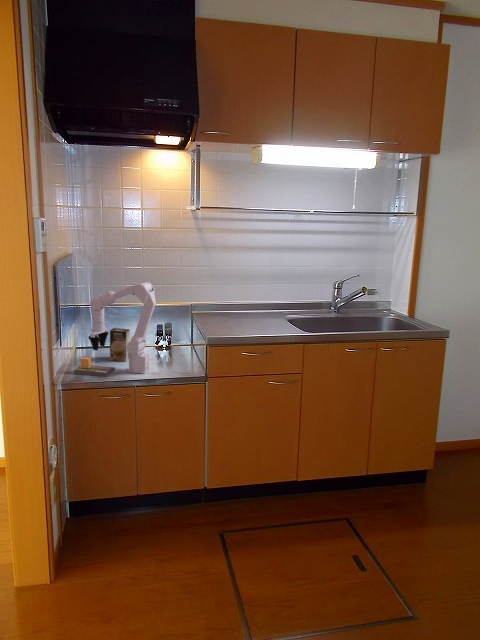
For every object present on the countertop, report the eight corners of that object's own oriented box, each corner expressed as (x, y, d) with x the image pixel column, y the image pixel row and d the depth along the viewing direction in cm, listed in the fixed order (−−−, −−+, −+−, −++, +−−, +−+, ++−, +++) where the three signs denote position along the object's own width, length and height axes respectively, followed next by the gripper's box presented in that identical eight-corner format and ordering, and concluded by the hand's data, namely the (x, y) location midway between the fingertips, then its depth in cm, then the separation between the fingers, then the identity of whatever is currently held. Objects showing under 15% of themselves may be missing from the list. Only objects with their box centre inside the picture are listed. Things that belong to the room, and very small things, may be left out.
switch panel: (113, 371, 246) (113, 367, 245) (106, 376, 238) (106, 372, 237) (82, 368, 248) (82, 364, 248) (74, 373, 240) (74, 369, 240)
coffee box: (109, 360, 263) (108, 330, 259) (113, 356, 269) (113, 327, 266) (126, 361, 262) (126, 331, 259) (130, 358, 268) (130, 328, 265)
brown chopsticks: (115, 369, 249) (115, 367, 249) (113, 370, 247) (113, 368, 247) (85, 366, 252) (85, 364, 251) (83, 367, 249) (83, 365, 249)
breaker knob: (91, 366, 244) (91, 357, 243) (88, 368, 241) (88, 359, 240) (83, 365, 245) (83, 357, 244) (80, 367, 242) (80, 358, 241)
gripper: (97, 317, 256) (97, 343, 259) (84, 324, 242) (84, 351, 245) (110, 318, 254) (110, 344, 257) (97, 325, 241) (98, 352, 243)
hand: (99, 348), depth 251 cm, fingers open, 7 cm apart
